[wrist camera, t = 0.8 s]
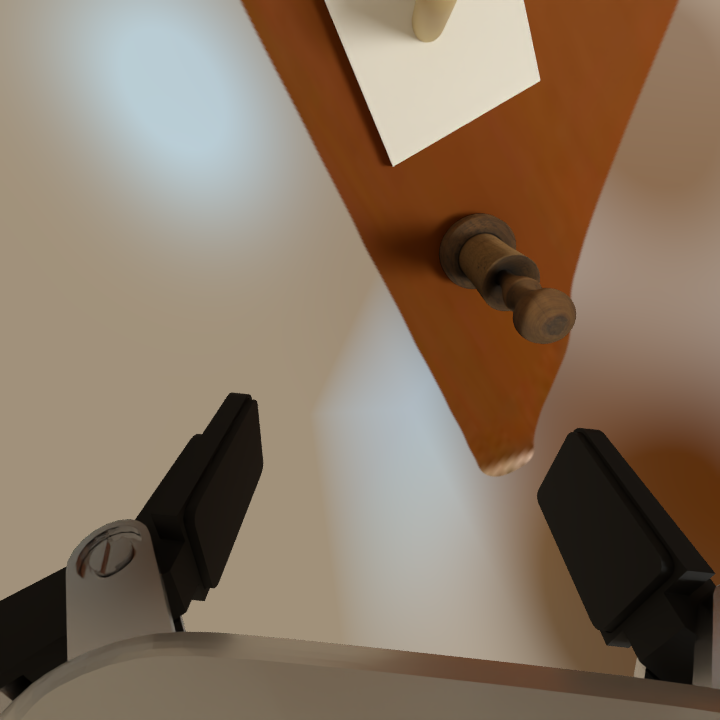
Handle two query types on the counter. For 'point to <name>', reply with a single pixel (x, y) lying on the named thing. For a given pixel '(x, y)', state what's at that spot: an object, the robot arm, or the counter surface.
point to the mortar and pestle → (505, 277)
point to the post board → (434, 63)
